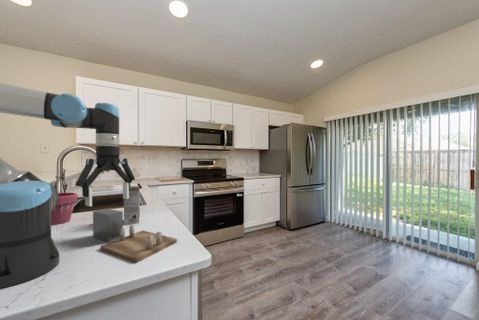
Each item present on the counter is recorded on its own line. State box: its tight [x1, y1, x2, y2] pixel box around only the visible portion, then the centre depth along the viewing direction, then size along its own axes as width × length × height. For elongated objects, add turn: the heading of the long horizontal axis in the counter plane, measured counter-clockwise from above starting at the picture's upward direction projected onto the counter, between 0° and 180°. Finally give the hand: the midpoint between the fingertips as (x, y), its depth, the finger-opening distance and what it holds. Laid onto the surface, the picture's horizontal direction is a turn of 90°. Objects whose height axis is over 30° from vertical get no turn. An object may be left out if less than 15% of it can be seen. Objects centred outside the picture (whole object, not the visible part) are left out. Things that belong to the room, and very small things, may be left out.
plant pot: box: [51, 192, 78, 226], centre depth 94 cm, size 14×14×13 cm
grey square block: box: [92, 208, 124, 243], centre depth 76 cm, size 5×10×10 cm, turn 63°
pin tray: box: [99, 224, 178, 264], centre depth 70 cm, size 16×18×5 cm
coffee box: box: [123, 185, 141, 226], centre depth 96 cm, size 9×6×16 cm
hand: (108, 201), depth 77 cm, fingers open, 13 cm apart
